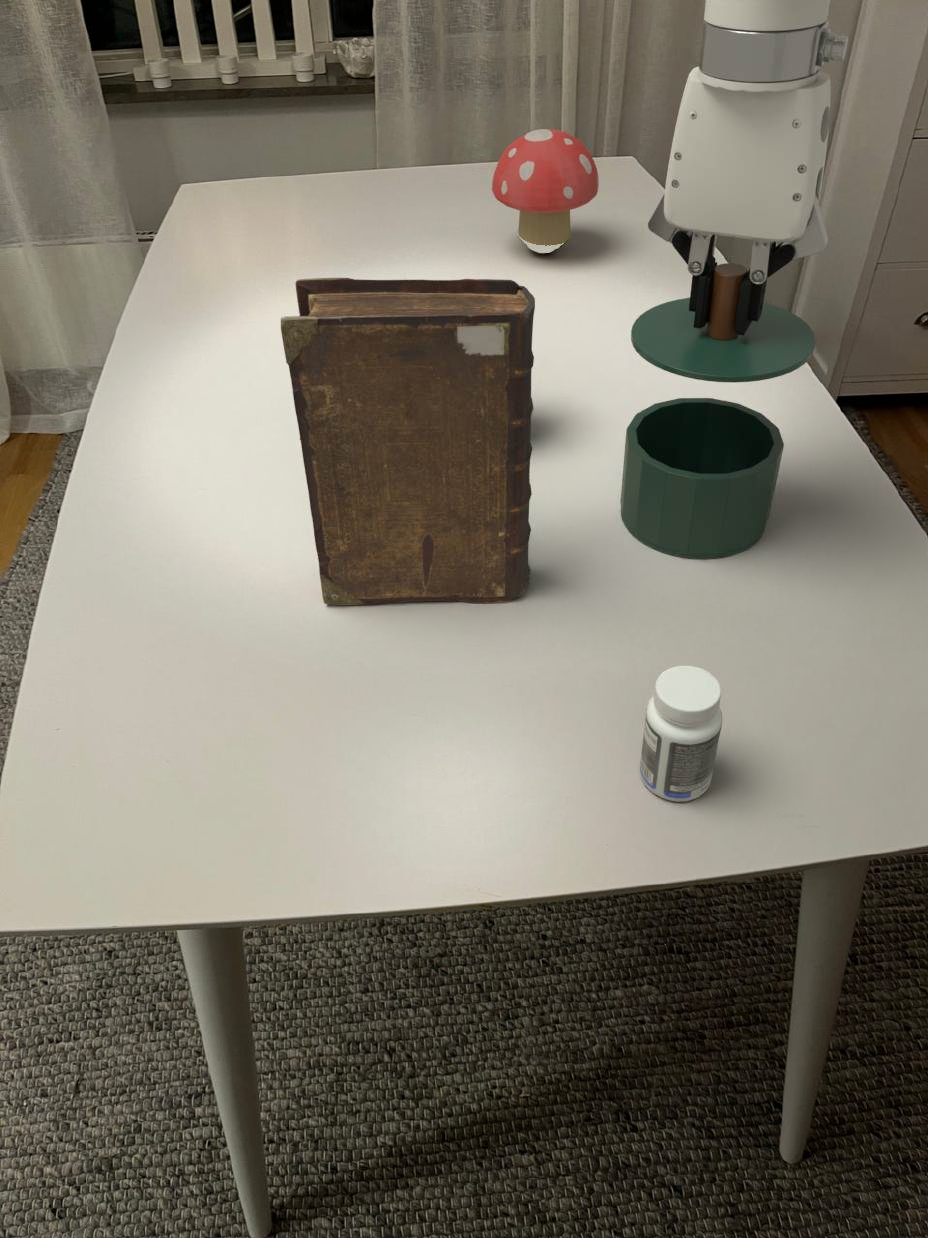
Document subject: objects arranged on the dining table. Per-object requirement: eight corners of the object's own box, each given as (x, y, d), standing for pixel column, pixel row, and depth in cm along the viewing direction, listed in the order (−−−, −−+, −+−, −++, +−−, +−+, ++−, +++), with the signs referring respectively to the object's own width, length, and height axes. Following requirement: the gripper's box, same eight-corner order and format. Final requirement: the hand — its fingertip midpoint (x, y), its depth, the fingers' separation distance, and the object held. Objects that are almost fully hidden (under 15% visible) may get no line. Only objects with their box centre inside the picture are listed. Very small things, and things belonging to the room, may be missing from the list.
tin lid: (828, 323, 80) (844, 247, 76) (791, 404, 71) (807, 322, 67) (660, 298, 85) (667, 225, 81) (605, 370, 76) (610, 292, 72)
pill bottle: (721, 766, 68) (740, 677, 63) (693, 814, 65) (710, 726, 60) (656, 738, 70) (668, 650, 65) (626, 784, 67) (636, 696, 62)
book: (533, 565, 85) (538, 275, 68) (526, 621, 80) (529, 322, 63) (338, 554, 87) (296, 270, 70) (319, 609, 82) (269, 315, 65)
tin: (780, 492, 92) (797, 414, 86) (746, 574, 83) (762, 493, 78) (646, 462, 96) (653, 386, 90) (600, 537, 87) (606, 458, 82)
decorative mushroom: (479, 241, 137) (476, 122, 127) (572, 227, 140) (576, 109, 130) (512, 280, 127) (512, 154, 117) (611, 264, 130) (619, 139, 120)
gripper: (901, 46, 65) (841, 320, 77) (655, 32, 70) (636, 289, 82) (883, 75, 60) (822, 364, 72) (620, 57, 65) (605, 328, 77)
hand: (723, 322), depth 77 cm, fingers closed on tin lid, 2 cm apart
